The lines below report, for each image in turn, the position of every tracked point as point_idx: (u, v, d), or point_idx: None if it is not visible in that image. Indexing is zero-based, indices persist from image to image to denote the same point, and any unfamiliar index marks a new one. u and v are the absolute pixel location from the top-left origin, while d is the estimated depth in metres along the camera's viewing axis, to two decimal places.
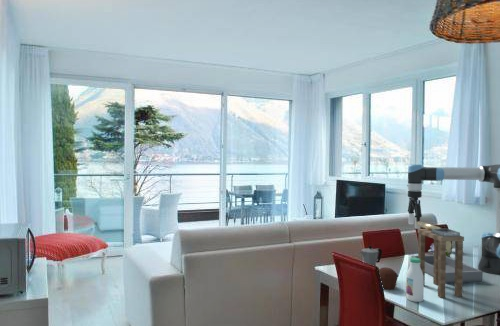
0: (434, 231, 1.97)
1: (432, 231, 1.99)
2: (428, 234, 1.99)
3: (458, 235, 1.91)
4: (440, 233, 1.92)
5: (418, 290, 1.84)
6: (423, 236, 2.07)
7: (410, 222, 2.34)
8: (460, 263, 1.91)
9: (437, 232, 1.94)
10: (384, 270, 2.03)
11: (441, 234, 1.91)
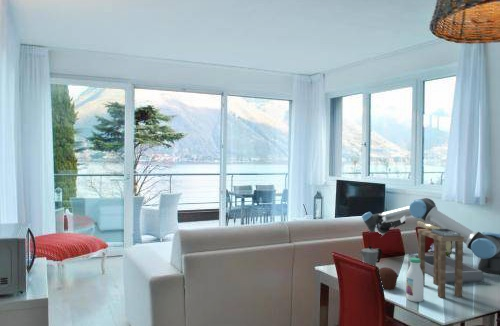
0: (434, 231, 1.97)
1: (432, 231, 1.99)
2: (428, 234, 1.99)
3: (458, 235, 1.91)
4: (440, 233, 1.92)
5: (418, 290, 1.84)
6: (423, 236, 2.07)
7: (404, 218, 2.51)
8: (460, 263, 1.91)
9: (437, 232, 1.94)
10: (384, 270, 2.03)
11: (441, 234, 1.91)
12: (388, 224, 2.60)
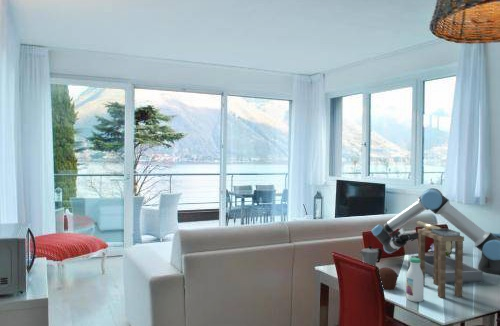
0: (434, 231, 1.97)
1: (432, 231, 1.99)
2: (428, 234, 1.99)
3: (458, 235, 1.91)
4: (440, 233, 1.92)
5: (418, 290, 1.84)
6: (423, 236, 2.07)
7: None
8: (460, 263, 1.91)
9: (437, 232, 1.94)
10: (384, 270, 2.03)
11: (441, 234, 1.91)
12: (405, 237, 2.34)
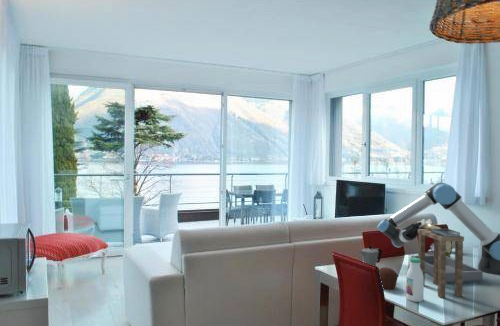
0: (434, 231, 1.97)
1: (432, 231, 1.99)
2: (428, 234, 1.99)
3: (458, 235, 1.91)
4: (440, 233, 1.92)
5: (418, 290, 1.84)
6: (423, 236, 2.07)
7: (429, 222, 2.12)
8: (460, 263, 1.91)
9: (437, 232, 1.94)
10: (384, 270, 2.03)
11: (441, 234, 1.91)
12: (416, 230, 2.23)
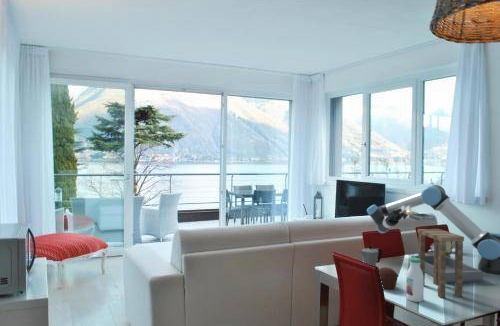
0: (411, 215, 2.18)
1: (410, 216, 2.20)
2: (428, 234, 1.99)
3: (432, 219, 2.12)
4: (416, 217, 2.13)
5: (418, 290, 1.84)
6: (423, 236, 2.07)
7: (408, 208, 2.33)
8: (460, 263, 1.91)
9: (414, 216, 2.16)
10: (384, 270, 2.03)
11: (417, 218, 2.12)
12: (397, 216, 2.44)
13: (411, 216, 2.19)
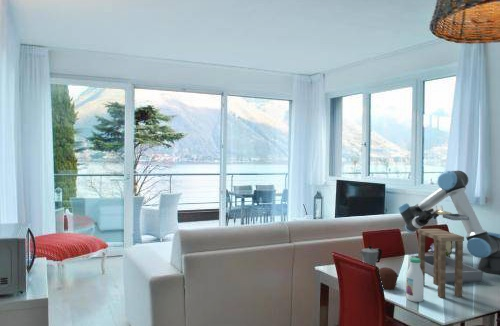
0: (445, 216, 2.20)
1: (444, 216, 2.22)
2: (428, 234, 1.99)
3: (467, 219, 2.15)
4: (451, 217, 2.16)
5: (418, 290, 1.84)
6: (423, 236, 2.07)
7: (440, 208, 2.35)
8: (460, 263, 1.91)
9: (448, 216, 2.18)
10: (384, 270, 2.03)
11: (452, 218, 2.15)
12: (428, 216, 2.46)
13: (445, 216, 2.21)
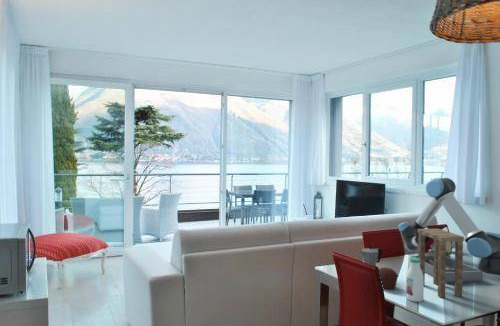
0: None
1: None
2: (428, 234, 1.99)
3: None
4: None
5: (418, 290, 1.84)
6: (423, 236, 2.07)
7: (445, 230, 2.38)
8: (460, 263, 1.91)
9: None
10: (384, 270, 2.03)
11: None
12: (427, 236, 2.47)
13: None
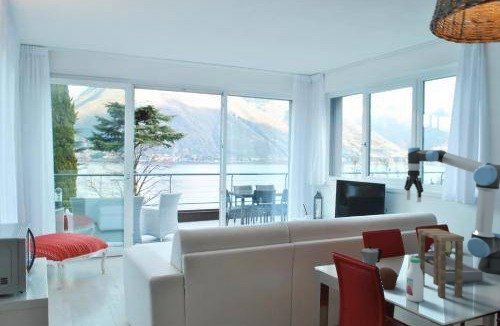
0: None
1: None
2: (428, 234, 1.99)
3: None
4: None
5: (418, 290, 1.84)
6: (423, 236, 2.07)
7: (408, 198, 2.70)
8: (460, 263, 1.91)
9: None
10: (384, 270, 2.03)
11: None
12: (412, 183, 2.63)
13: None
